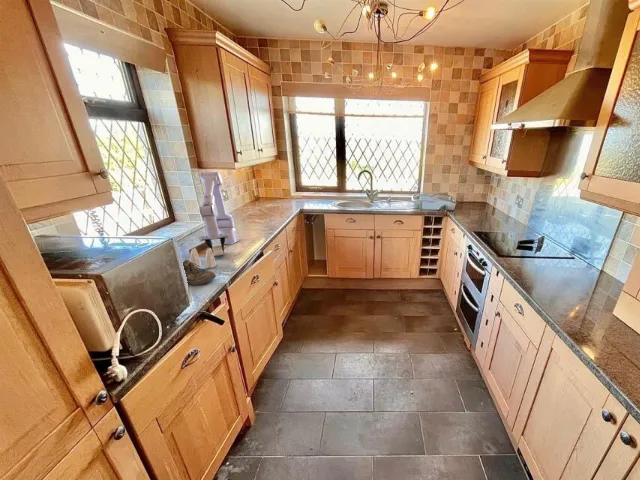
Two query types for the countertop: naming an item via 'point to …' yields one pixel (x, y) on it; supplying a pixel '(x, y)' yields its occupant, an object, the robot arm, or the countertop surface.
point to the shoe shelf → (203, 249)
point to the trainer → (217, 250)
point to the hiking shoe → (197, 274)
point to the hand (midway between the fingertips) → (218, 251)
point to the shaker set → (209, 258)
